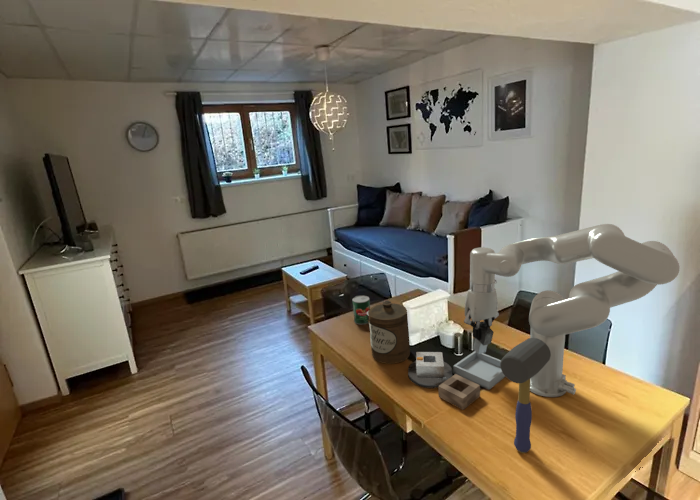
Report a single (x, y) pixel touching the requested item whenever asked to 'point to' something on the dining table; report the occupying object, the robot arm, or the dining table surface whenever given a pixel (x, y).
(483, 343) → the gray rectangular block
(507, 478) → the dining table surface
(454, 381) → the stand
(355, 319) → the canned tomato
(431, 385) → the dark gray round plate
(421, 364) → the collar
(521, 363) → the rubber mallet
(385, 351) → the wooden container
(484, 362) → the tray
